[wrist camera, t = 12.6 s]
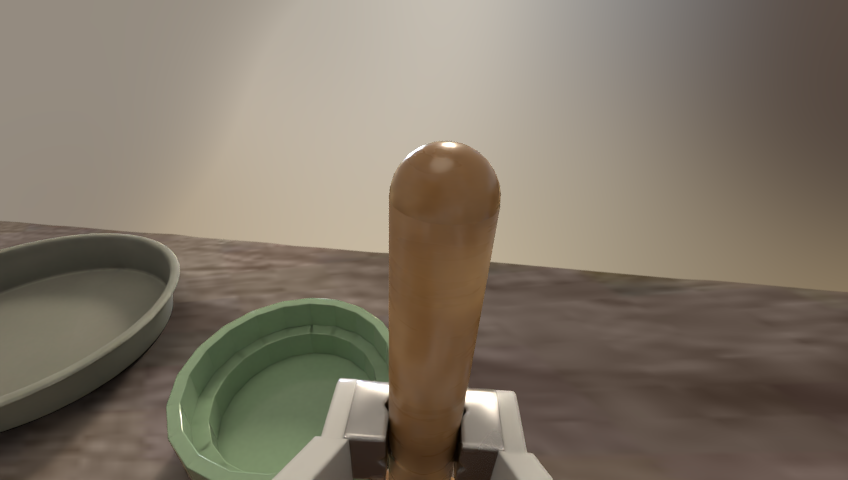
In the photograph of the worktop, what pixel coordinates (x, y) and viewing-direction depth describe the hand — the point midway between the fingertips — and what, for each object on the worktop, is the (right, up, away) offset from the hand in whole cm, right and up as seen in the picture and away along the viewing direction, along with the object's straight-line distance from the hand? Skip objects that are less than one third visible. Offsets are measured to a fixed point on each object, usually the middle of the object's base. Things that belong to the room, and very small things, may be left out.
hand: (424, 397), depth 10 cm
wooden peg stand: (-1, -9, +4) cm, 10 cm away
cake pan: (-37, -5, +25) cm, 45 cm away
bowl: (-10, -10, +19) cm, 24 cm away
